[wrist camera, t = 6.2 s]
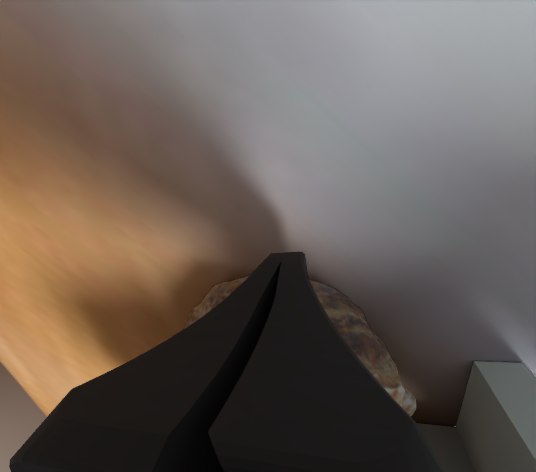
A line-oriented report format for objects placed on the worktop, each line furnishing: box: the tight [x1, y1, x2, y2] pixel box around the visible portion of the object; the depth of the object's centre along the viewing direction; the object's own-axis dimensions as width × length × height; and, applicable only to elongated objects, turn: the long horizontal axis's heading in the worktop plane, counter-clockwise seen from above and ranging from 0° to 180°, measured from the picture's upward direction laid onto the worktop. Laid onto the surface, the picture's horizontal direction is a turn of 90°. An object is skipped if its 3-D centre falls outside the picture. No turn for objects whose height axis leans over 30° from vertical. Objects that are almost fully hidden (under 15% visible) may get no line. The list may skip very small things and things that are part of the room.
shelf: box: [416, 361, 536, 472], centre depth 12 cm, size 20×8×8 cm, turn 101°
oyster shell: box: [184, 276, 417, 417], centre depth 12 cm, size 10×12×5 cm
